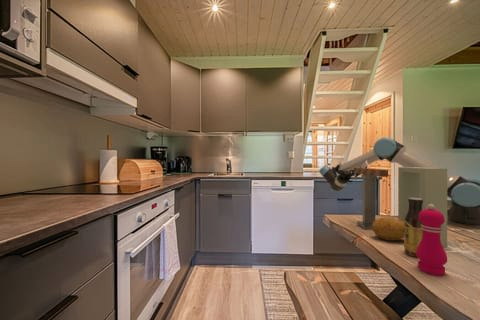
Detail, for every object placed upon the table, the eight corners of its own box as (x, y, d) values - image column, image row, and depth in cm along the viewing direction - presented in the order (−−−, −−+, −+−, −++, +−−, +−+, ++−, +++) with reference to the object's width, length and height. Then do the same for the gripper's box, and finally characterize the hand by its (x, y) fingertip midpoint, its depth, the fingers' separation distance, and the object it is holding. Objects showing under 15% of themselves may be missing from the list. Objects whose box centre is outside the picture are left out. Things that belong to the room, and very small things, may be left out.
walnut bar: (353, 173, 127) (353, 167, 127) (359, 173, 127) (359, 167, 127) (380, 176, 99) (380, 169, 99) (388, 176, 99) (388, 169, 99)
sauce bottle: (404, 249, 84) (405, 196, 85) (426, 254, 81) (426, 197, 81) (403, 255, 79) (403, 198, 79) (426, 260, 75) (426, 200, 76)
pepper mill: (453, 277, 64) (453, 206, 64) (424, 275, 66) (424, 205, 66) (437, 266, 71) (437, 202, 71) (411, 264, 73) (411, 201, 73)
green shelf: (398, 231, 105) (398, 167, 105) (416, 232, 105) (416, 167, 105) (425, 245, 88) (425, 168, 89) (447, 246, 88) (447, 168, 88)
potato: (410, 247, 87) (410, 222, 87) (370, 240, 95) (370, 217, 95) (409, 240, 95) (410, 217, 95) (372, 234, 103) (373, 213, 103)
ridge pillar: (357, 224, 117) (357, 174, 117) (373, 225, 116) (373, 174, 116) (364, 229, 109) (364, 175, 109) (381, 229, 108) (381, 175, 108)
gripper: (363, 184, 146) (378, 168, 127) (323, 184, 147) (333, 168, 129) (360, 173, 149) (375, 157, 131) (322, 173, 151) (330, 157, 133)
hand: (354, 162), depth 130 cm, fingers open, 13 cm apart
